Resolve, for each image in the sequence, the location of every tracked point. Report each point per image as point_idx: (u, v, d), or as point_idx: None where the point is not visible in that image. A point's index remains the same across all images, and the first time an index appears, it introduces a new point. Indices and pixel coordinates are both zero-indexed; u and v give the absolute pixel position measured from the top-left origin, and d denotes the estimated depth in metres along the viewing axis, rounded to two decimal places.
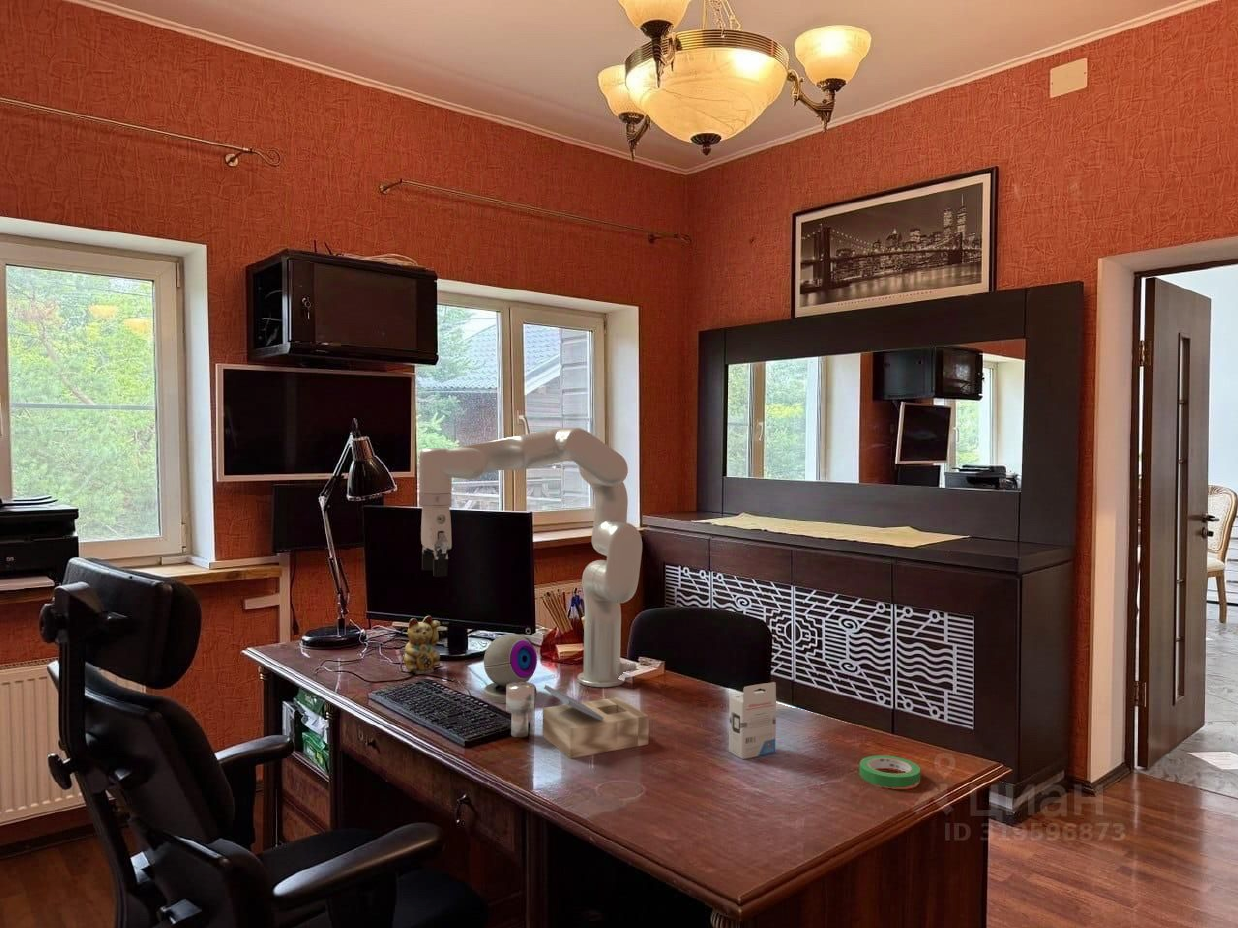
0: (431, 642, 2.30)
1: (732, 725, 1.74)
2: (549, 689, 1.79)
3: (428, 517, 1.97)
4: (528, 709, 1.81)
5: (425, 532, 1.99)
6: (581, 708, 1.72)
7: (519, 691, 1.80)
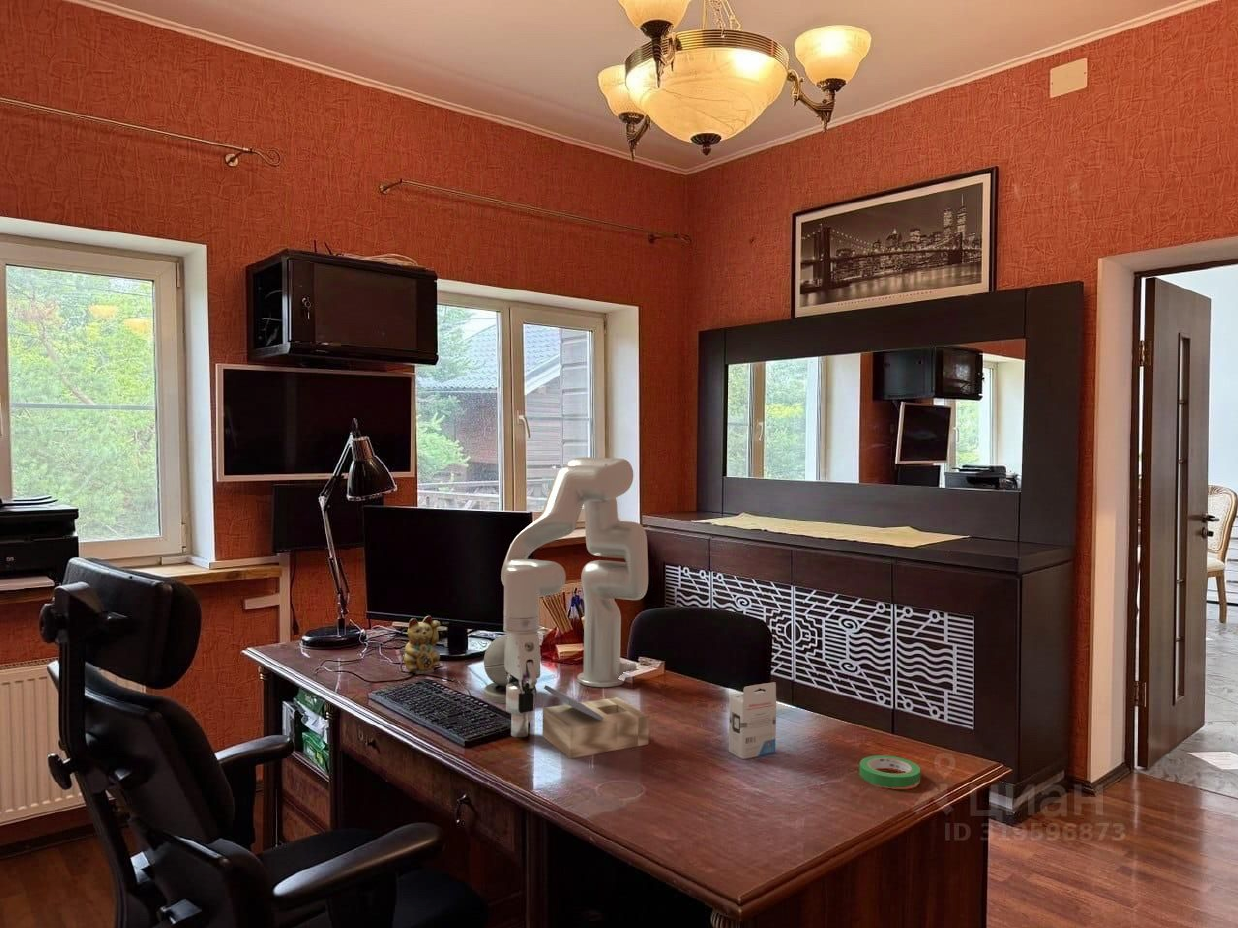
0: (431, 642, 2.30)
1: (732, 725, 1.74)
2: (549, 689, 1.79)
3: (515, 644, 1.79)
4: None
5: (511, 659, 1.81)
6: (581, 708, 1.72)
7: (519, 691, 1.80)
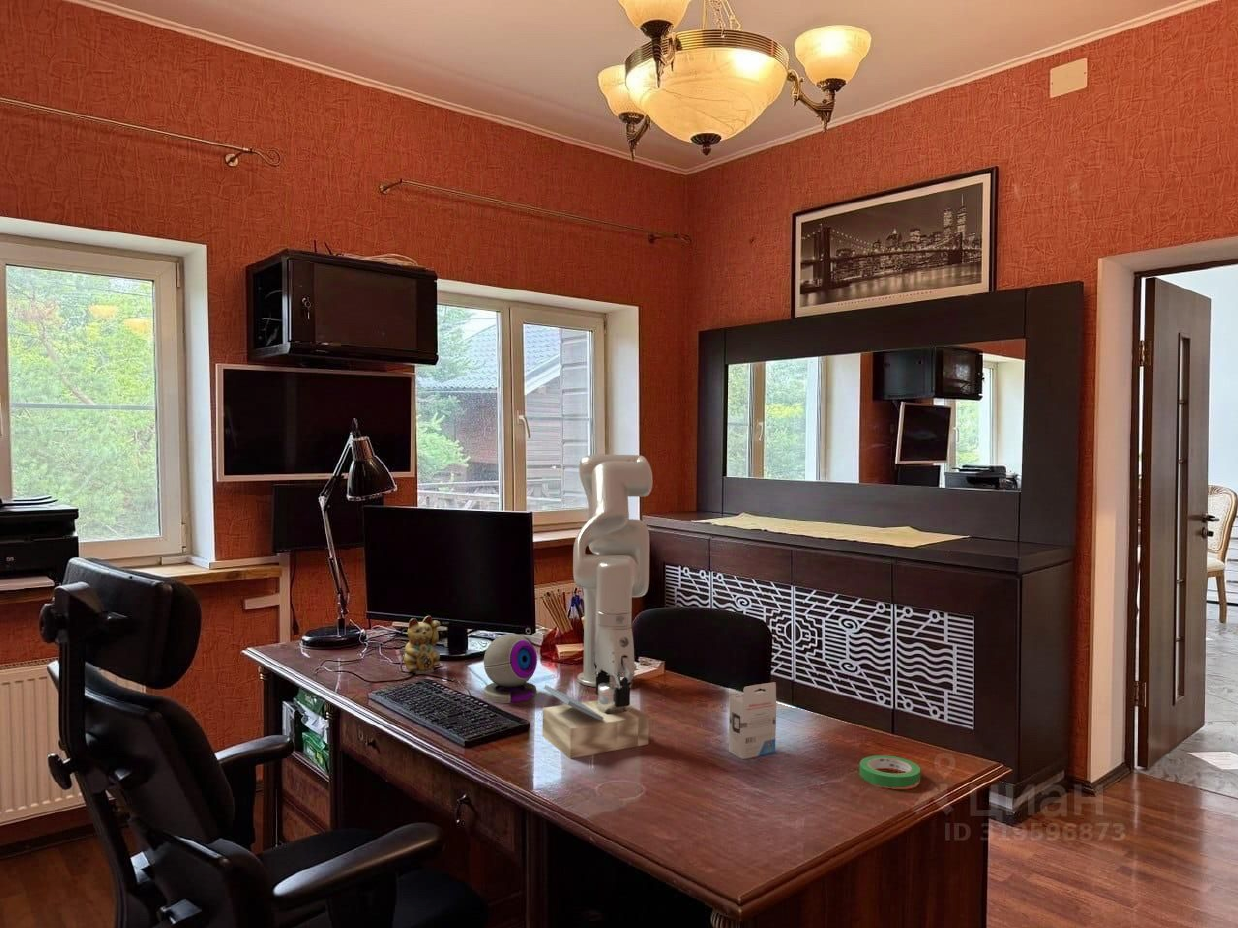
0: (431, 642, 2.30)
1: (732, 725, 1.74)
2: (549, 689, 1.79)
3: (609, 639, 1.78)
4: (621, 709, 1.80)
5: (604, 655, 1.80)
6: (581, 708, 1.72)
7: (612, 691, 1.79)
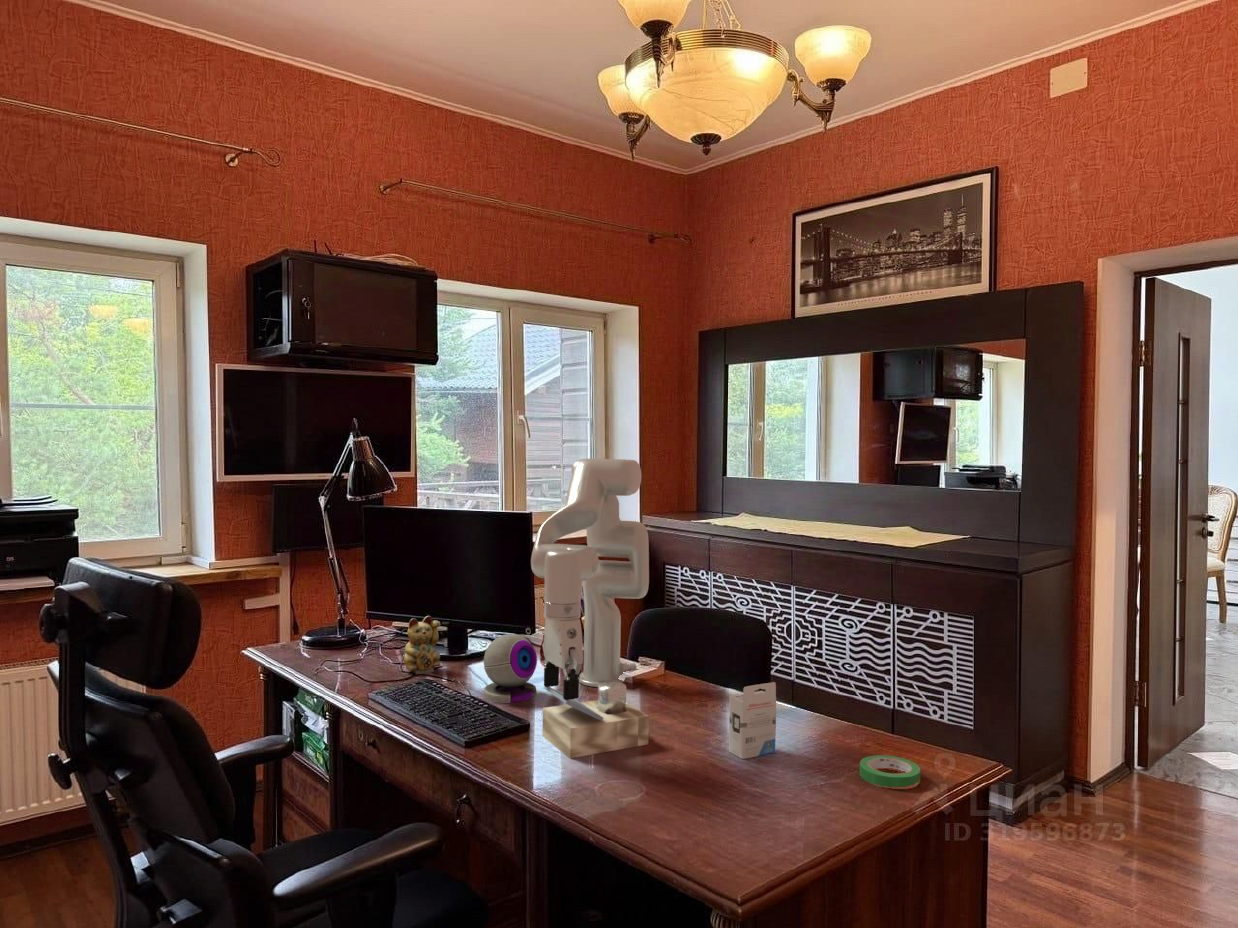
0: (431, 642, 2.30)
1: (732, 725, 1.74)
2: (549, 689, 1.79)
3: (557, 631, 1.72)
4: (621, 709, 1.80)
5: (552, 647, 1.74)
6: (581, 708, 1.72)
7: (612, 691, 1.79)
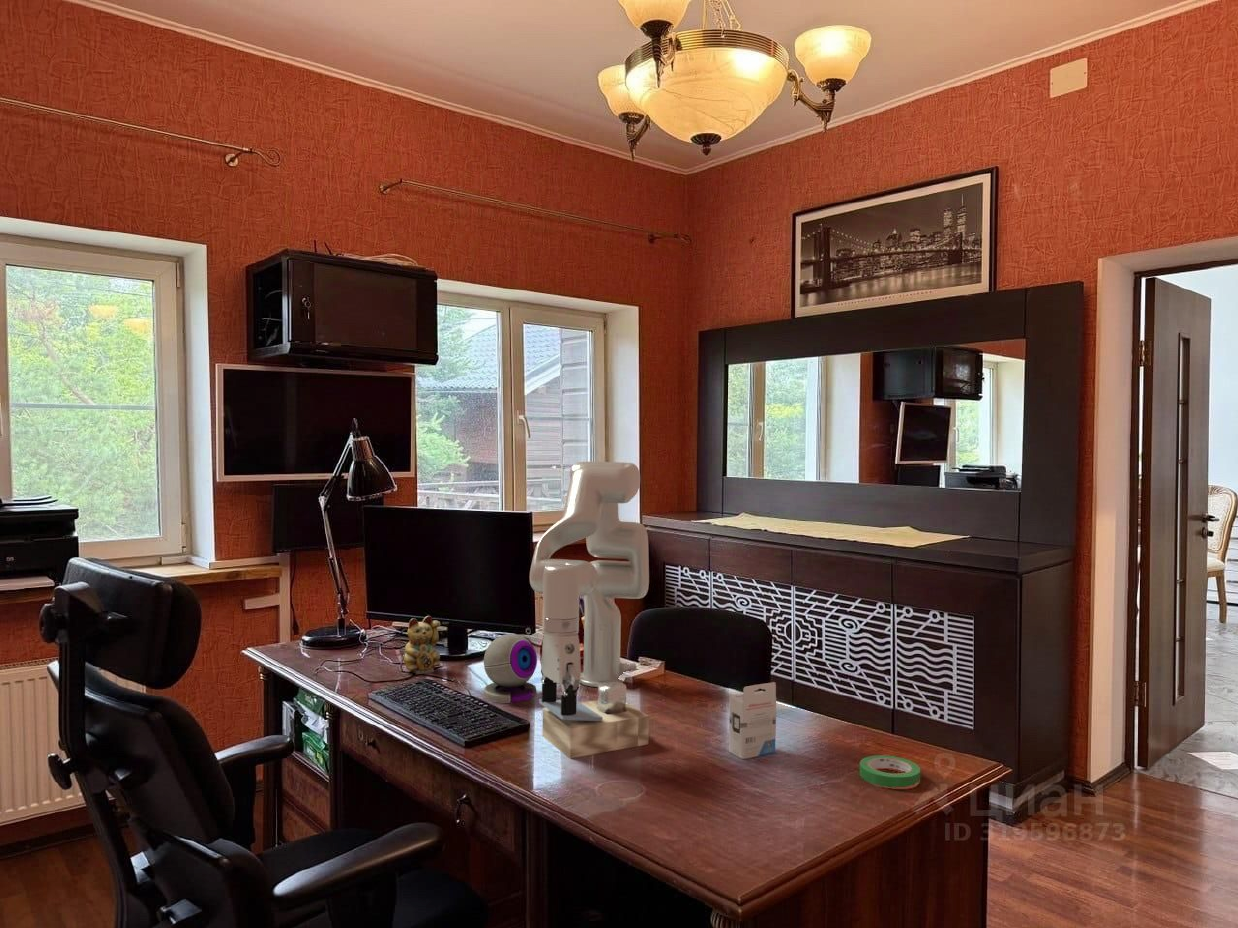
0: (431, 642, 2.30)
1: (732, 725, 1.74)
2: (544, 703, 1.78)
3: (555, 646, 1.72)
4: (621, 709, 1.80)
5: (550, 662, 1.74)
6: (577, 717, 1.71)
7: (612, 691, 1.79)
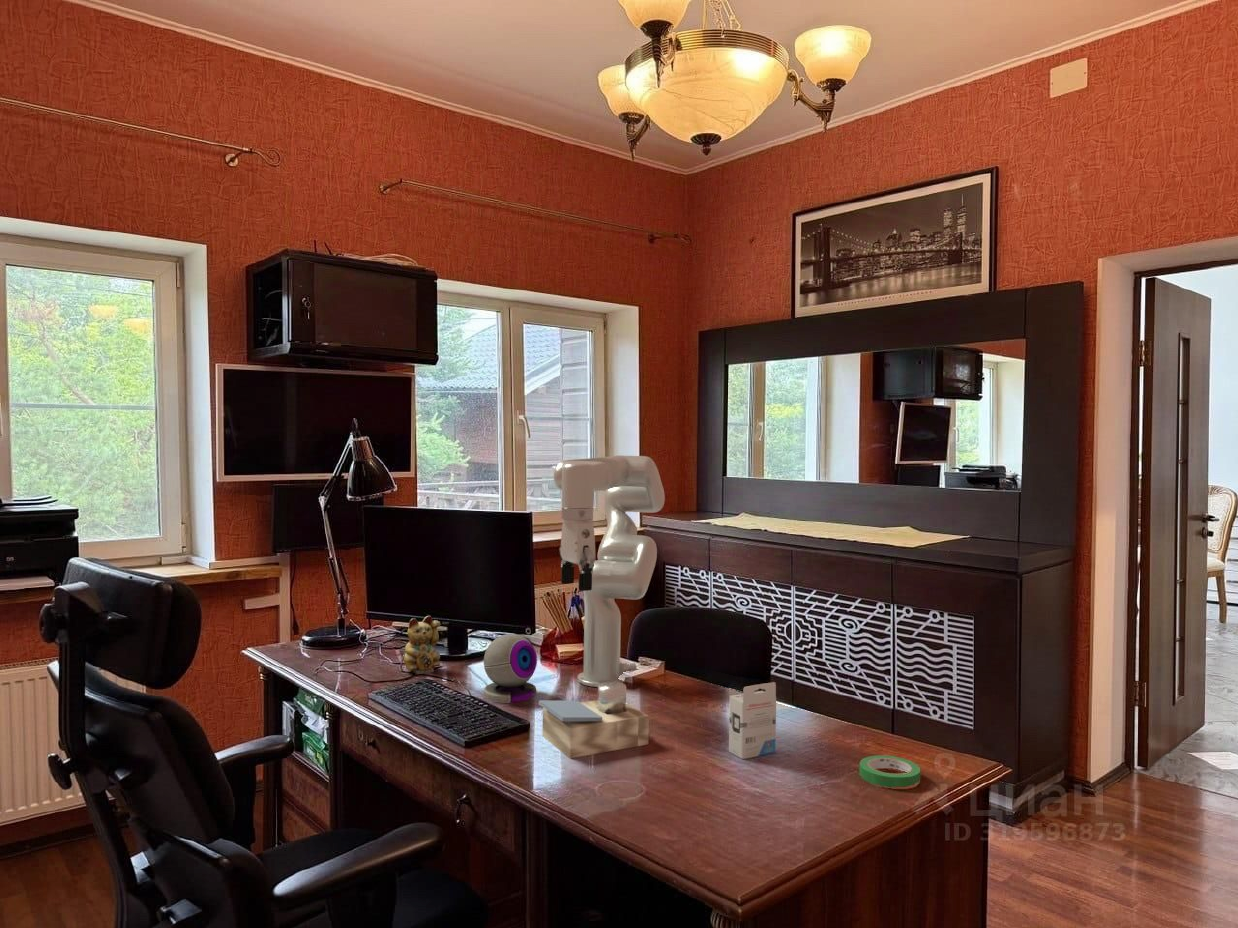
0: (431, 642, 2.30)
1: (732, 725, 1.74)
2: (543, 705, 1.78)
3: (573, 531, 1.99)
4: (621, 709, 1.80)
5: (568, 546, 2.00)
6: (577, 718, 1.71)
7: (612, 691, 1.79)
